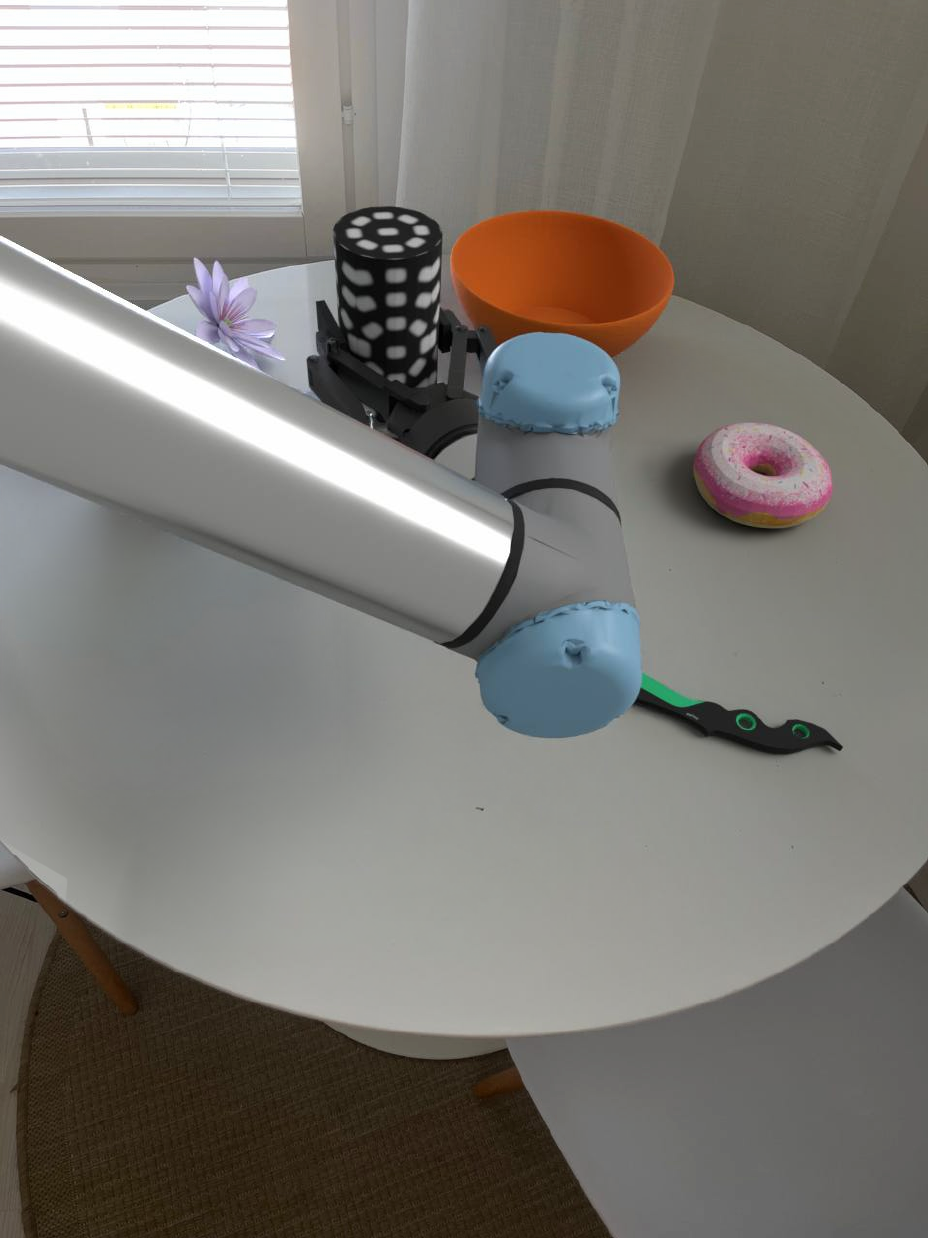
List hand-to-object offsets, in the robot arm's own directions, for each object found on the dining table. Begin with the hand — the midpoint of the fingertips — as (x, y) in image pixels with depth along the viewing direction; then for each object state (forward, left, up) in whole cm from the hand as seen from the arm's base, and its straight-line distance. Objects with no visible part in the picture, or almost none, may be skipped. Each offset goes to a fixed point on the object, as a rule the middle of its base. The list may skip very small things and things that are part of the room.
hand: (371, 306), depth 79 cm
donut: (+27, +28, -18) cm, 43 cm away
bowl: (-5, +31, -18) cm, 36 cm away
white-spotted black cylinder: (+4, -2, -11) cm, 12 cm away
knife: (+40, +2, -18) cm, 44 cm away
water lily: (-24, 0, -18) cm, 30 cm away
